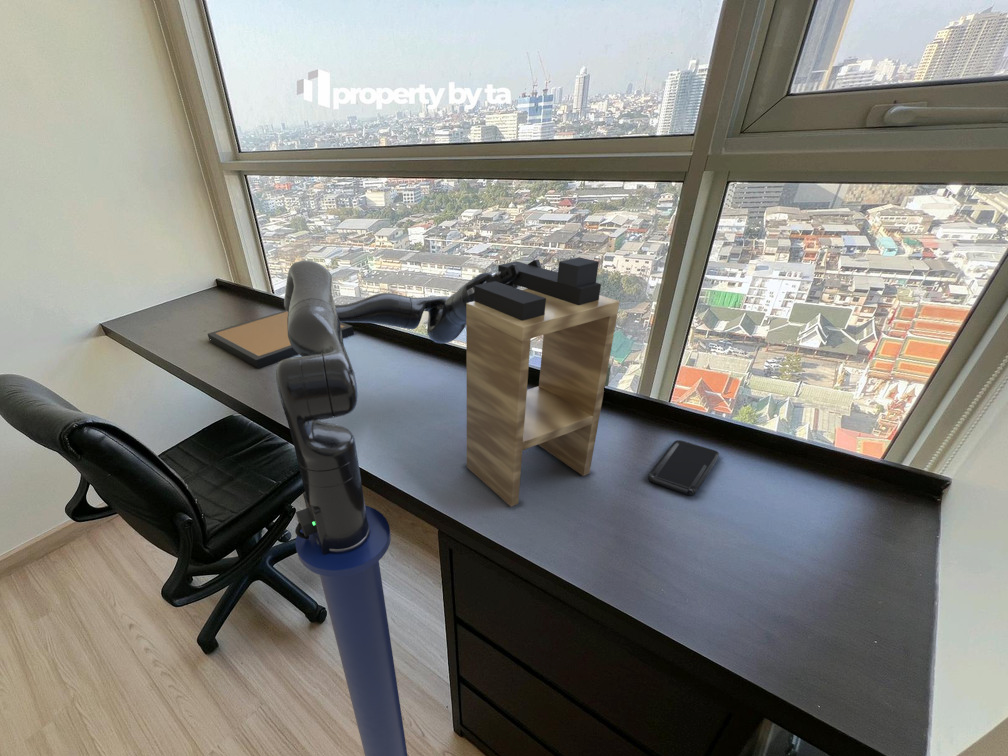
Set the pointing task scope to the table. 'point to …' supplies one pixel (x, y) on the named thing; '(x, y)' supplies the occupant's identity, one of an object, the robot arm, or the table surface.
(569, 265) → the pad
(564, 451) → the shelf
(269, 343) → the cork board
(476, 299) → the pad
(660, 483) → the phone
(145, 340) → the table surface
